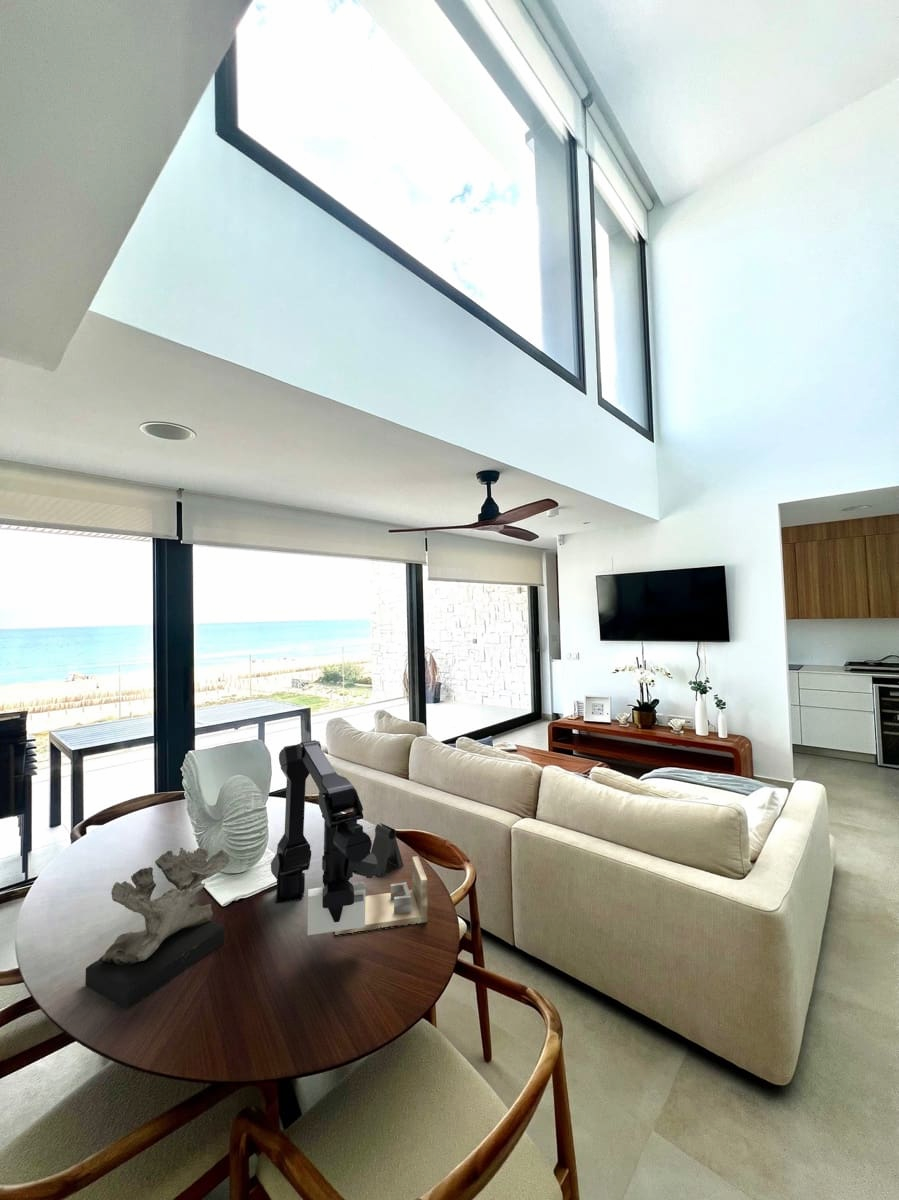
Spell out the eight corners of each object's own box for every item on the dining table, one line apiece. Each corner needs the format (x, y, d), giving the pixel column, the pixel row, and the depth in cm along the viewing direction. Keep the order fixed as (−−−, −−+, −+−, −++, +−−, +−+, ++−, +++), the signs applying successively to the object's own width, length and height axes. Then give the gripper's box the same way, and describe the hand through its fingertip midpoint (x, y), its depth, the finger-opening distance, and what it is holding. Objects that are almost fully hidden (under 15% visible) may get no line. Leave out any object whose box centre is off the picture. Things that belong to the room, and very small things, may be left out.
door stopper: (379, 878, 139) (379, 834, 140) (366, 870, 144) (366, 828, 144) (403, 866, 146) (404, 824, 146) (390, 859, 150) (390, 819, 150)
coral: (198, 917, 121) (200, 827, 121) (257, 944, 111) (259, 846, 112) (82, 984, 99) (86, 874, 99) (144, 1024, 89) (147, 902, 90)
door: (307, 937, 104) (307, 898, 104) (307, 926, 108) (308, 889, 108) (365, 929, 107) (365, 891, 107) (363, 918, 111) (364, 882, 111)
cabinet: (335, 936, 114) (335, 891, 114) (333, 906, 125) (334, 866, 126) (427, 922, 119) (427, 879, 120) (417, 894, 131) (417, 856, 131)
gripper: (379, 859, 101) (378, 938, 101) (370, 822, 119) (369, 889, 119) (323, 866, 99) (321, 947, 98) (322, 827, 117) (321, 895, 116)
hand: (336, 917), depth 108 cm, fingers closed on door, 3 cm apart
